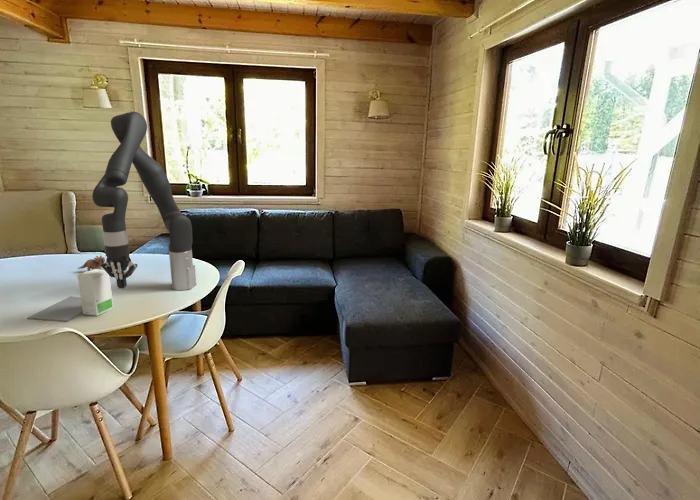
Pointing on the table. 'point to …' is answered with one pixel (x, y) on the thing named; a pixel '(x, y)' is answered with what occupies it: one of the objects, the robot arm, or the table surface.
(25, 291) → the table surface
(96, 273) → the skincare box
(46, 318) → the slate mat
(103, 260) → the dinosaur figurine
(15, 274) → the table surface
